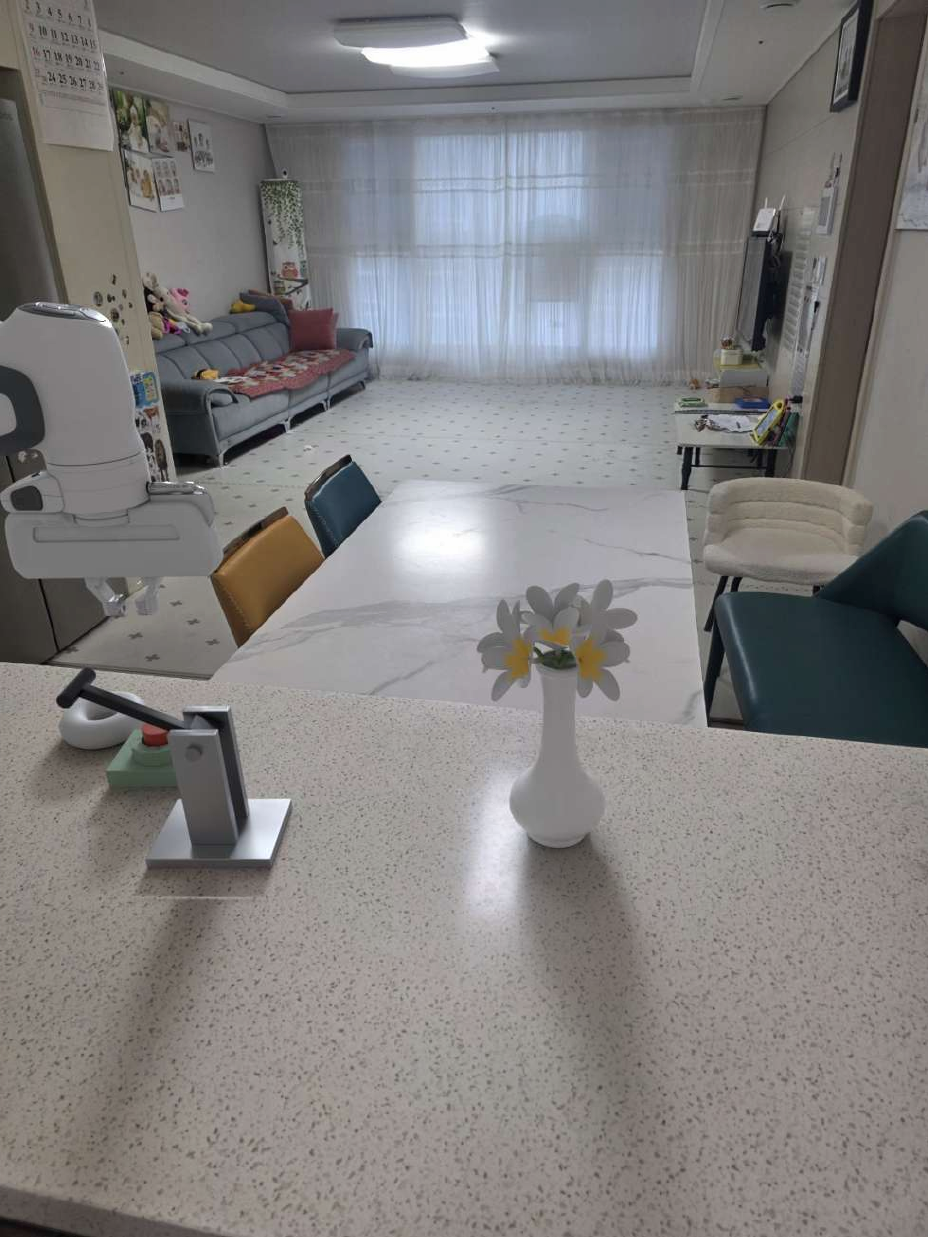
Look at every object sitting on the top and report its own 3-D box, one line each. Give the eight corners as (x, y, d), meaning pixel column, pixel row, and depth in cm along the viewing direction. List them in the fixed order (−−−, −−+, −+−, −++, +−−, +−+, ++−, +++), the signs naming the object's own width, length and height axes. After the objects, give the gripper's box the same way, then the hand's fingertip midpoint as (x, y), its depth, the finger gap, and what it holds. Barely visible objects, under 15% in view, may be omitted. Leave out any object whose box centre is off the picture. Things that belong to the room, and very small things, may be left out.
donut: (168, 722, 101) (114, 700, 106) (163, 698, 100) (108, 677, 105) (99, 765, 94) (44, 740, 98) (92, 740, 92) (37, 715, 97)
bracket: (147, 869, 78) (115, 749, 72) (179, 807, 86) (153, 695, 80) (271, 869, 78) (250, 748, 72) (292, 807, 86) (275, 694, 80)
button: (139, 748, 90) (136, 734, 89) (151, 729, 93) (148, 716, 93) (171, 748, 90) (168, 734, 89) (182, 729, 93) (180, 716, 92)
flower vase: (635, 781, 88) (652, 565, 77) (598, 904, 73) (612, 655, 62) (519, 759, 92) (519, 550, 81) (460, 870, 77) (450, 631, 66)
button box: (109, 787, 90) (101, 757, 88) (138, 745, 97) (130, 716, 95) (199, 787, 89) (193, 756, 88) (221, 744, 97) (216, 715, 95)
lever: (52, 709, 73) (58, 688, 72) (78, 680, 77) (84, 660, 76) (204, 767, 75) (212, 748, 74) (221, 736, 80) (228, 717, 79)
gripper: (219, 471, 81) (240, 599, 87) (17, 475, 82) (51, 601, 88) (198, 491, 75) (222, 626, 82) (-19, 495, 76) (21, 628, 82)
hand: (132, 613), depth 85 cm, fingers closed
